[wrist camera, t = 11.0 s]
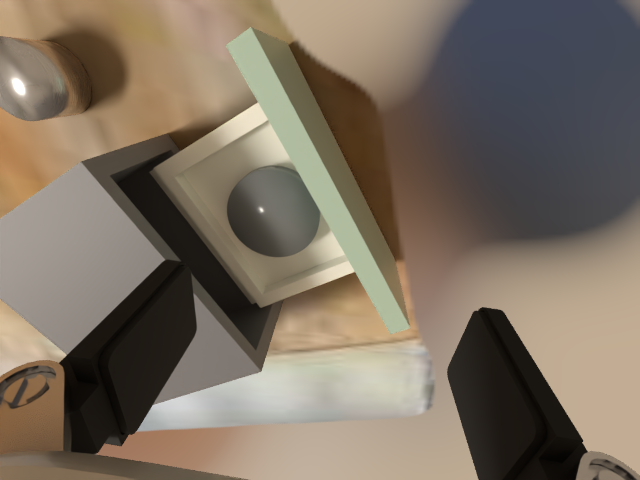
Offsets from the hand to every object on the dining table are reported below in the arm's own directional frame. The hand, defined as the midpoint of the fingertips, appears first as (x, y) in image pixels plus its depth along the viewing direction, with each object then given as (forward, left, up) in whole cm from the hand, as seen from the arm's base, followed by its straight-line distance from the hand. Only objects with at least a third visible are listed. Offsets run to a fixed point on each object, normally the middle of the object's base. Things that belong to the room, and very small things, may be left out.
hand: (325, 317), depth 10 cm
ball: (-16, -16, -17) cm, 28 cm away
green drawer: (0, -6, -16) cm, 18 cm away
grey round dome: (0, -6, -15) cm, 16 cm away
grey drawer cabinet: (0, -18, -17) cm, 25 cm away
